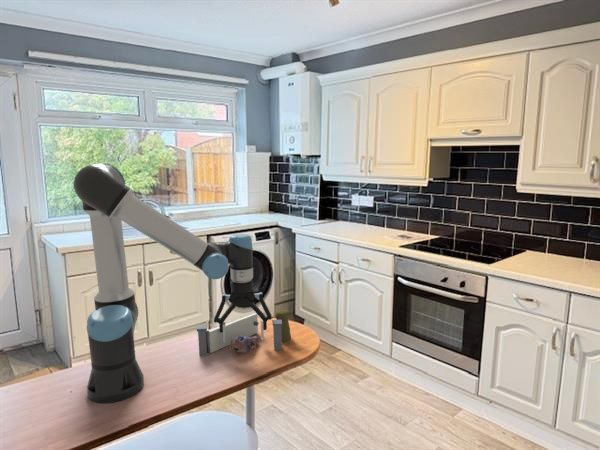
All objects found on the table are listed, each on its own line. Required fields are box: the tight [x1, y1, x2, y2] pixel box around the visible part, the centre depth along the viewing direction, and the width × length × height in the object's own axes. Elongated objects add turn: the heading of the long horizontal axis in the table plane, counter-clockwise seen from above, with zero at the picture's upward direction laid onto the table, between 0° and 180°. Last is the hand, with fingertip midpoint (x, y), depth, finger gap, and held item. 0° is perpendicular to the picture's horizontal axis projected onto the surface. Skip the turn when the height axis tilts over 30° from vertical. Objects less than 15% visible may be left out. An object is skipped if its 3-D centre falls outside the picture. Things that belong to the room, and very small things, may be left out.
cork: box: [274, 309, 292, 344], centre depth 153 cm, size 6×6×11 cm
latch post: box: [271, 319, 283, 352], centre depth 146 cm, size 3×4×10 cm
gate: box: [206, 312, 259, 355], centre depth 150 cm, size 22×2×8 cm, turn 137°
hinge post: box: [196, 323, 209, 357], centre depth 142 cm, size 3×4×10 cm
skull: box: [229, 336, 260, 354], centre depth 145 cm, size 12×8×6 cm, turn 138°
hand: (243, 339), depth 146 cm, fingers open, 12 cm apart
